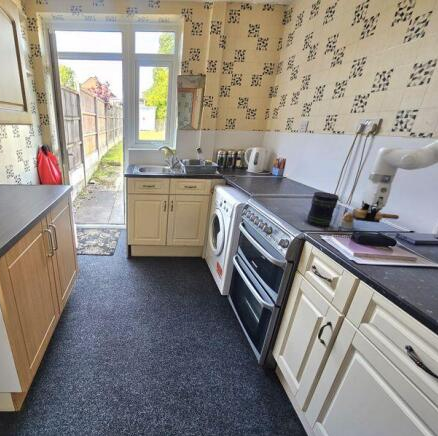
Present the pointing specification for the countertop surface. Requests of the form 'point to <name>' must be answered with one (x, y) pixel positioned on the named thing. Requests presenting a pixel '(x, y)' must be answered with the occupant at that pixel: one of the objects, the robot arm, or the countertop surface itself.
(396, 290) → the countertop surface
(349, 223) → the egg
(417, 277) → the countertop surface
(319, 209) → the storage jar
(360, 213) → the brush
